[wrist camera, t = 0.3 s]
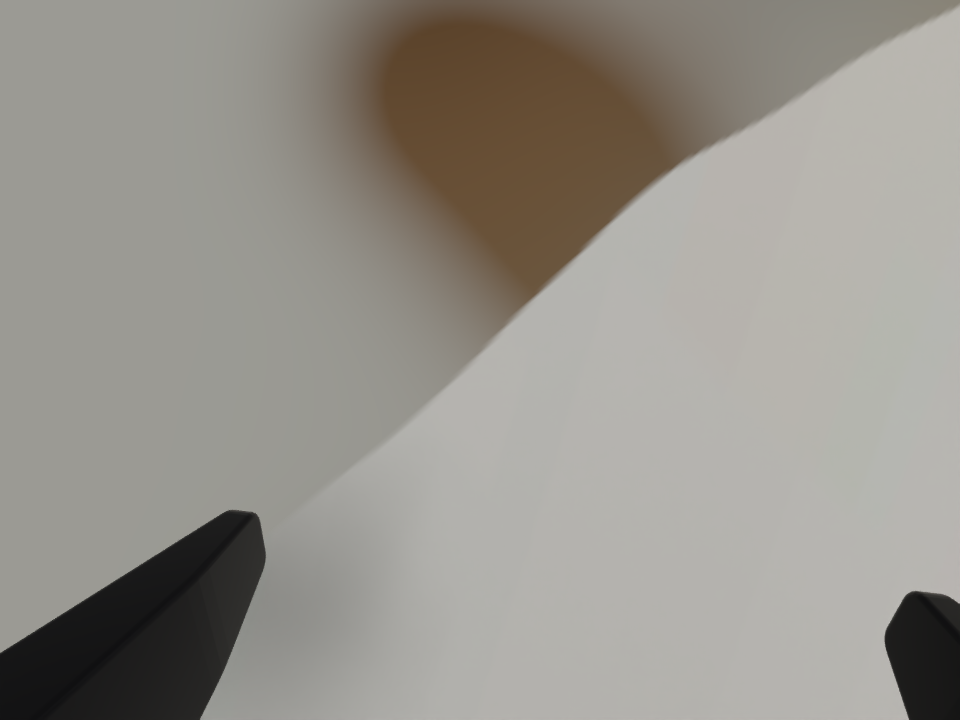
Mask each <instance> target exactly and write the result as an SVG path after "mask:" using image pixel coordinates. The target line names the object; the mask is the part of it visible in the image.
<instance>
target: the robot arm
mask: <svg viewBox="0 0 960 720" xmlns="http://www.w3.org/2000/svg"><path fill="white" fill-rule="evenodd" d="M265 559H266V552H265V546H264V540H263V535H262V529H261V524H260V519H259V517H258V516H257V514H256V513H253V512H246V511H239V510H229V511H226V512H224V513H222V514H221V515H219V516H217V517H216V518H214V519H213V520H211V521H209V522H208V523H206V524H205V525H203V526H202V527H200V528H198V529H197V530H195V531H194V532H192V533H191V534H189V535H187V536H186V537H184V538H182V539H181V540H179V541H178V542H176V543H174V544H173V545H171V546H170V547H168V548H166V549H165V550H163V551H162V552H160V553H159V554H157V555H155V556H154V557H152V558H151V559H149V560H147V561H146V562H144V563H143V564H141V565H139V566H138V567H136V568H135V569H133V570H132V571H130V572H128V573H127V574H125V575H124V576H122V577H120V578H119V579H117V580H116V581H114V582H113V583H111V584H109V585H108V586H106V587H105V588H103V589H101V590H100V591H98V592H97V593H95V594H93V595H92V596H90V597H89V598H87V599H85V600H84V601H82V602H81V603H79V604H77V605H76V606H74V607H73V608H71V609H70V610H68V611H67V612H65V613H63V614H62V615H60V616H59V617H57V618H55V619H54V620H52V621H51V622H49V623H47V624H46V625H44V626H43V627H41V628H39V629H38V630H36V631H35V632H33V633H31V634H30V635H28V636H27V637H25V638H24V639H22V640H20V641H19V642H17V643H16V644H14V645H13V646H11V647H9V648H8V649H6V650H4V651H3V652H1V653H0V720H200V718H201V716H202V714H203V712H204V710H205V708H206V706H207V704H208V702H209V700H210V698H211V696H212V694H213V692H214V690H215V688H216V686H217V684H218V682H219V680H220V678H221V676H222V674H223V671H224V669H225V667H226V664H227V662H228V659H229V657H230V654H231V652H232V649H233V647H234V644H235V642H236V639H237V636H238V634H239V631H240V629H241V626H242V623H243V621H244V618H245V616H246V613H247V611H248V608H249V605H250V603H251V600H252V598H253V595H254V592H255V590H256V587H257V585H258V582H259V579H260V577H261V574H262V572H263V569H264V565H265ZM885 647H886V651H887V654H888V657H889V660H890V663H891V666H892V669H893V673H894V676H895V679H896V682H897V685H898V688H899V691H900V694H901V697H902V700H903V703H904V706H905V709H906V712H907V715H908V718H909V720H960V604H959V603H958V602H956V601H955V600H953V599H952V598H950V597H948V596H946V595H943V594H937V593H929V592H920V591H912V592H910V593H908V594H907V595H906V596H905V597H904V599H903V600H902V602H901V604H900V606H899V607H898V609H897V611H896V613H895V615H894V616H893V618H892V620H891V622H890V623H889V625H888V627H887V629H886V632H885Z"/></svg>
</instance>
